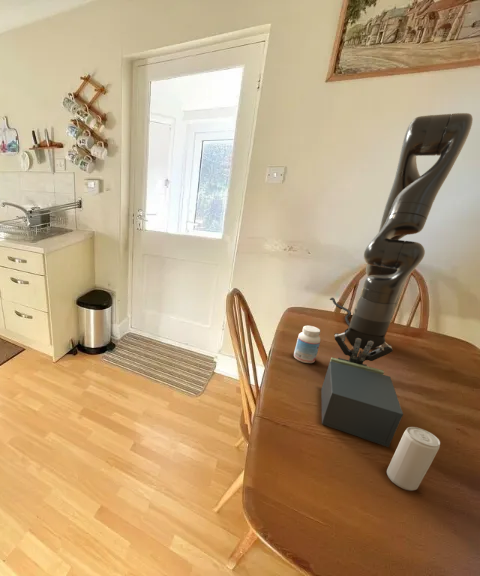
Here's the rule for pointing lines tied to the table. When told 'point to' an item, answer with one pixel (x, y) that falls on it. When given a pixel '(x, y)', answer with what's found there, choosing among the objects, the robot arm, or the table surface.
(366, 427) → the cabinet
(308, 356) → the pill bottle
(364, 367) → the drawer
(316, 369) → the table surface
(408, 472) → the beverage can
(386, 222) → the robot arm
